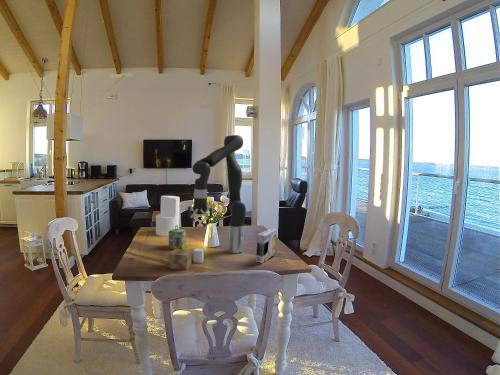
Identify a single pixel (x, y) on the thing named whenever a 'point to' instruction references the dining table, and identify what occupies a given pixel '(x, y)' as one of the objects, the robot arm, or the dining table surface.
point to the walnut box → (180, 259)
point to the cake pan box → (266, 245)
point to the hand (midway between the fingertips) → (199, 224)
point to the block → (198, 255)
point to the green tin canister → (177, 238)
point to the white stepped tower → (168, 215)
